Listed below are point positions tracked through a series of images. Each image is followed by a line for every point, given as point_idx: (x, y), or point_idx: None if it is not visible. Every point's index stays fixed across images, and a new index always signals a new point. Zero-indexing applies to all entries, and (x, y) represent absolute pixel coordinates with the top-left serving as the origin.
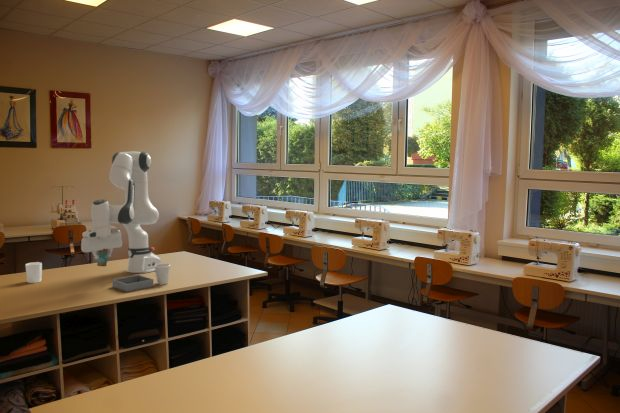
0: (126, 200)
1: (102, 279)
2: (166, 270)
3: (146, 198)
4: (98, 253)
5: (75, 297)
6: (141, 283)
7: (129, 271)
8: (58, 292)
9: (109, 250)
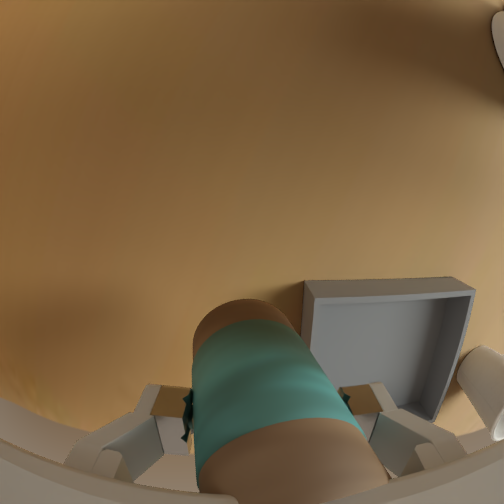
0: None
1: (353, 41)
2: (497, 424)
3: None
4: (196, 447)
5: (74, 333)
6: None
7: (499, 49)
8: (40, 170)
9: (401, 473)
